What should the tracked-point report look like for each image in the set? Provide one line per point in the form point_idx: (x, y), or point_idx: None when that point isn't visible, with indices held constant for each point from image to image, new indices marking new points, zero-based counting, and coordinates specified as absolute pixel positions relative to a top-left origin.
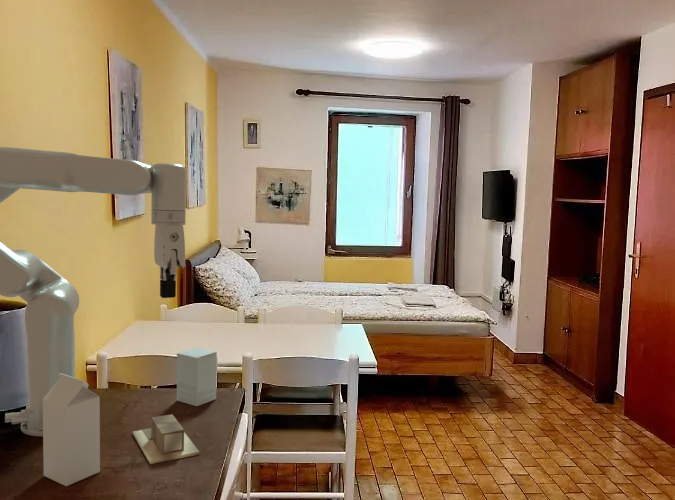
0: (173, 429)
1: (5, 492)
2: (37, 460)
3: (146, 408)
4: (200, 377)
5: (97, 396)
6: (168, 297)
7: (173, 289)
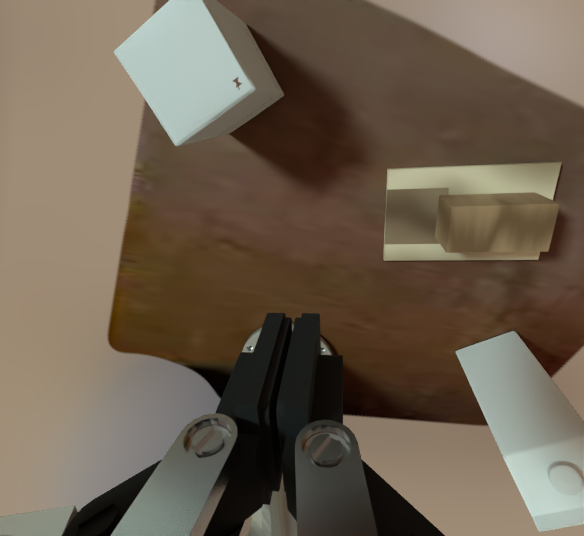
0: (542, 224)
1: None
2: (414, 390)
3: (256, 208)
4: (264, 78)
5: None
6: (320, 353)
7: (315, 361)
